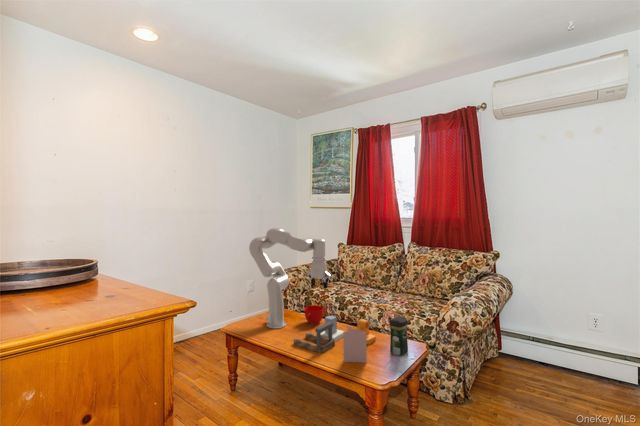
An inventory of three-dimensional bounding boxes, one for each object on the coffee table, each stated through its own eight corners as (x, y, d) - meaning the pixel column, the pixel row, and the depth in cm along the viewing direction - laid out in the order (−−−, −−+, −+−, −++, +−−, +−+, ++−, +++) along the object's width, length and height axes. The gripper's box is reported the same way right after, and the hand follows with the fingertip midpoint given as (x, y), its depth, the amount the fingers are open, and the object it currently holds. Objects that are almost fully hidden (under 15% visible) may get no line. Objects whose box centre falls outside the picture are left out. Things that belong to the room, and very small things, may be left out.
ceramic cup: (298, 327, 206) (298, 311, 206) (309, 318, 222) (308, 304, 221) (317, 329, 201) (317, 313, 201) (326, 320, 217) (326, 306, 217)
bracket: (364, 346, 176) (364, 324, 176) (354, 342, 181) (354, 321, 181) (376, 340, 183) (376, 319, 183) (366, 337, 189) (366, 316, 189)
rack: (293, 344, 180) (293, 338, 180) (307, 337, 190) (307, 332, 190) (321, 353, 168) (321, 347, 168) (334, 345, 177) (334, 340, 177)
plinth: (317, 337, 189) (316, 333, 189) (329, 331, 198) (328, 327, 198) (333, 342, 181) (333, 338, 181) (345, 335, 191) (345, 331, 191)
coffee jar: (396, 347, 174) (395, 313, 174) (410, 351, 169) (409, 316, 169) (387, 353, 167) (387, 318, 166) (401, 358, 162) (401, 321, 161)
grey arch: (315, 345, 170) (315, 328, 170) (328, 338, 180) (328, 321, 180) (320, 346, 168) (319, 329, 168) (333, 339, 178) (333, 322, 178)
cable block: (325, 332, 189) (324, 317, 189) (330, 330, 193) (329, 315, 193) (332, 334, 186) (331, 319, 186) (336, 332, 190) (336, 317, 190)
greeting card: (367, 361, 158) (367, 331, 158) (359, 367, 153) (358, 336, 152) (349, 355, 166) (348, 326, 165) (340, 360, 160) (339, 330, 160)
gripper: (304, 258, 199) (304, 286, 200) (326, 261, 189) (326, 290, 189) (312, 257, 205) (312, 283, 205) (334, 260, 194) (334, 288, 195)
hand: (319, 287), depth 197 cm, fingers open, 9 cm apart
